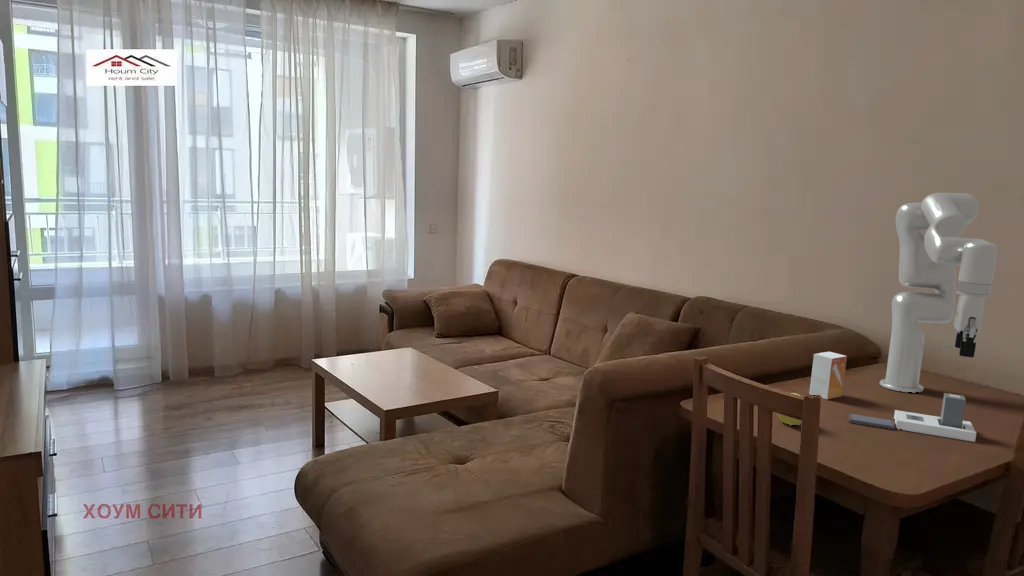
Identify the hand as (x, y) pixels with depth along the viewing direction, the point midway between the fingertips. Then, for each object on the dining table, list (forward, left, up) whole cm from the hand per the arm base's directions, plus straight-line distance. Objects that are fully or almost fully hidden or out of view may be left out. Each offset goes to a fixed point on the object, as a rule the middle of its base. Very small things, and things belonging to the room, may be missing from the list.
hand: (963, 352), depth 186 cm
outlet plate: (+3, -5, -22) cm, 22 cm away
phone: (+6, -20, -22) cm, 30 cm away
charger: (+3, -1, -22) cm, 22 cm away
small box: (-15, -32, -22) cm, 42 cm away
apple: (+19, -40, -22) cm, 49 cm away
